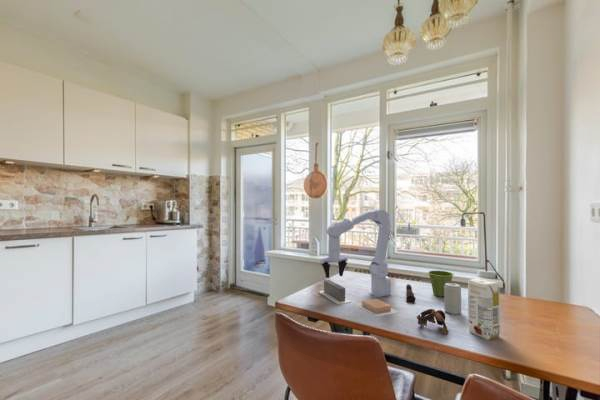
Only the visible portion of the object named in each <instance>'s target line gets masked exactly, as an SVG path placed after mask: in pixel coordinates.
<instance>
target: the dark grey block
mask: <svg viewBox="0 0 600 400" xmlns="http://www.w3.org/2000/svg"><path fill="white" fill-rule="evenodd" d="M323 291H324V292H325V293H327V294H328V295H330V296H331V297H333V298H335V299H336V300H338V301H339V302H341V301H345V298H346V287H344V286H343V285H340V284H338V283H337V282H334V281H332V280H330V279H324V280H323Z"/></svg>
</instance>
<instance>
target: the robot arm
mask: <svg viewBox="0 0 600 400" xmlns="http://www.w3.org/2000/svg"><path fill="white" fill-rule="evenodd" d="M389 217H390V214H389V212H387V210H385V209H383V208H380V209H379V208H378V209H377V208H372V209H369V210H367V211H365V212H362V213H361V214H359V215H357V216H355V217H353V218H352V219H351V218H346V217H345V218H343V220H342V221H339V222H335V223H334V225H333V224H331V225H329V226H328V228H327V230H326V234H327V235H328V243H327V244H328V246H327V247H328V252H327V253H328V257H325V258H320V263H321V266H322V268H323V270H324V274H325V278H328V279H330V268H331V264H329V263H337V264H338V275H339V276H340V277H343V276H344V271H345V270H346V269H345V268H346V267H347V265H348V261H349V260H348V259H349V258H348V256H341V238H340V237H341V236H342V235H343V234H345V233H347V232H350V231H351V230H352V229H354V227H355V226H356V225H358V224H360V223H362V222H365V221H368V220H371V221H372V222H373V223H374V224H376V226H377V227H378V236H377V241H376V247H375V252H374V257H373V258H372V259H371V263H370V264H369V265H368V270H369V272H370V274H371V275H370V280H371V281H370V283H371V286H370V287H371V288H370V290H369V291H367V293H368V294H370V295H373V296H374V297H376V298H379V297H385V296H392V295H393V293H392V286H391V285H392V283H391V279H390V277H389V276H388V274H389V268H388V265H389V263H388V262H387V259H386V258H387V251H388V244H389V239H390V233H391V232H390V231H391V222H390V218H389Z"/></svg>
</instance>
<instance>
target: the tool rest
mask: <svg viewBox="0 0 600 400" xmlns="http://www.w3.org/2000/svg"><path fill="white" fill-rule="evenodd" d="M318 294H320V295H322V296H324V297H326V298H327V299H328V300H330V301H332V302H333V303H335V304H337V305H345V304H350V303H352V300H349V299H348V298H346V297H345V301H341V302H339V301H338V300H336V299H335V298H333V297H331V296H330V295H328V294H327V293H325V292H324V290H319V291H318Z"/></svg>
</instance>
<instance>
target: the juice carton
mask: <svg viewBox="0 0 600 400" xmlns="http://www.w3.org/2000/svg"><path fill="white" fill-rule="evenodd" d="M500 295H501V293H500V284H499V282H496V281H490V280H486V279H483V278H482V277H481V278H480V277H479V278H477V277H476V278H471V279H468V283H467V304H468V305H467V307H468V308H467V311H468V313H467V314H468V315H467V316H468V331H469V333H470V334H474V335H475V336H478V337H481V338H483V339H485V340H487V341H489V340H492V339H496V338H499V337H500V334H501V302H500V301H501V296H500Z"/></svg>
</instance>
